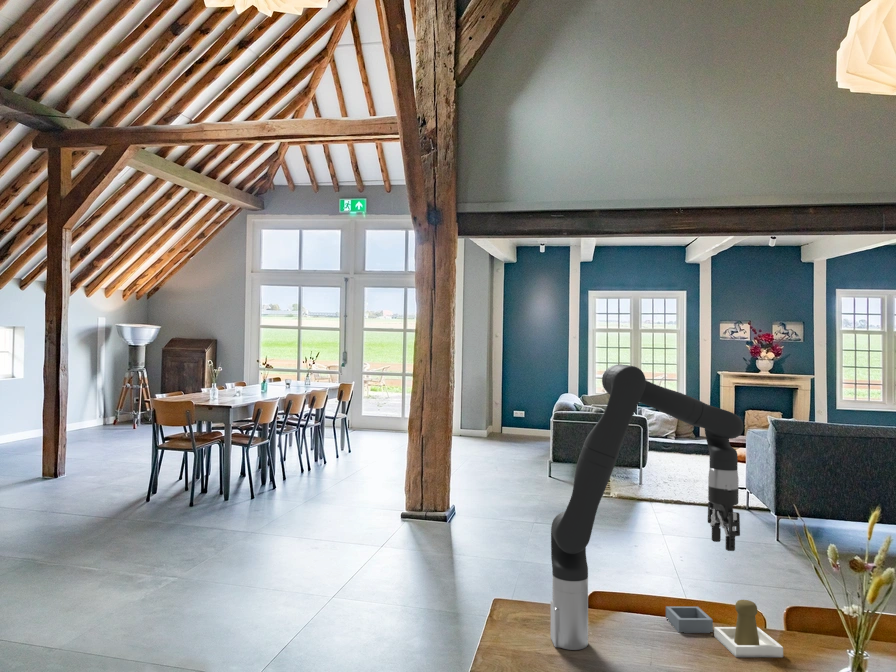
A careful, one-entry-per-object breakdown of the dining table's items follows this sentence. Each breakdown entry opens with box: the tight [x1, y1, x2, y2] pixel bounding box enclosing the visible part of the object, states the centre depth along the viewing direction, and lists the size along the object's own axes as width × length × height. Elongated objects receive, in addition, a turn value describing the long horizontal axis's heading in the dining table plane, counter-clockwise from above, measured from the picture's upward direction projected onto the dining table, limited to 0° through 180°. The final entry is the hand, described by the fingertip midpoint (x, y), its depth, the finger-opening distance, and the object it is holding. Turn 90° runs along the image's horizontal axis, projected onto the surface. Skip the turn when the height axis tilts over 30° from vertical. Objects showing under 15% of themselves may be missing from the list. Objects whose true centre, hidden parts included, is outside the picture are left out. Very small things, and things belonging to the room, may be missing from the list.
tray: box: [713, 626, 784, 658], centre depth 160 cm, size 12×12×2 cm
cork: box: [734, 599, 759, 645], centre depth 160 cm, size 6×6×11 cm
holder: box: [665, 605, 714, 634], centre depth 173 cm, size 9×9×4 cm
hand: (723, 545), depth 166 cm, fingers open, 8 cm apart
